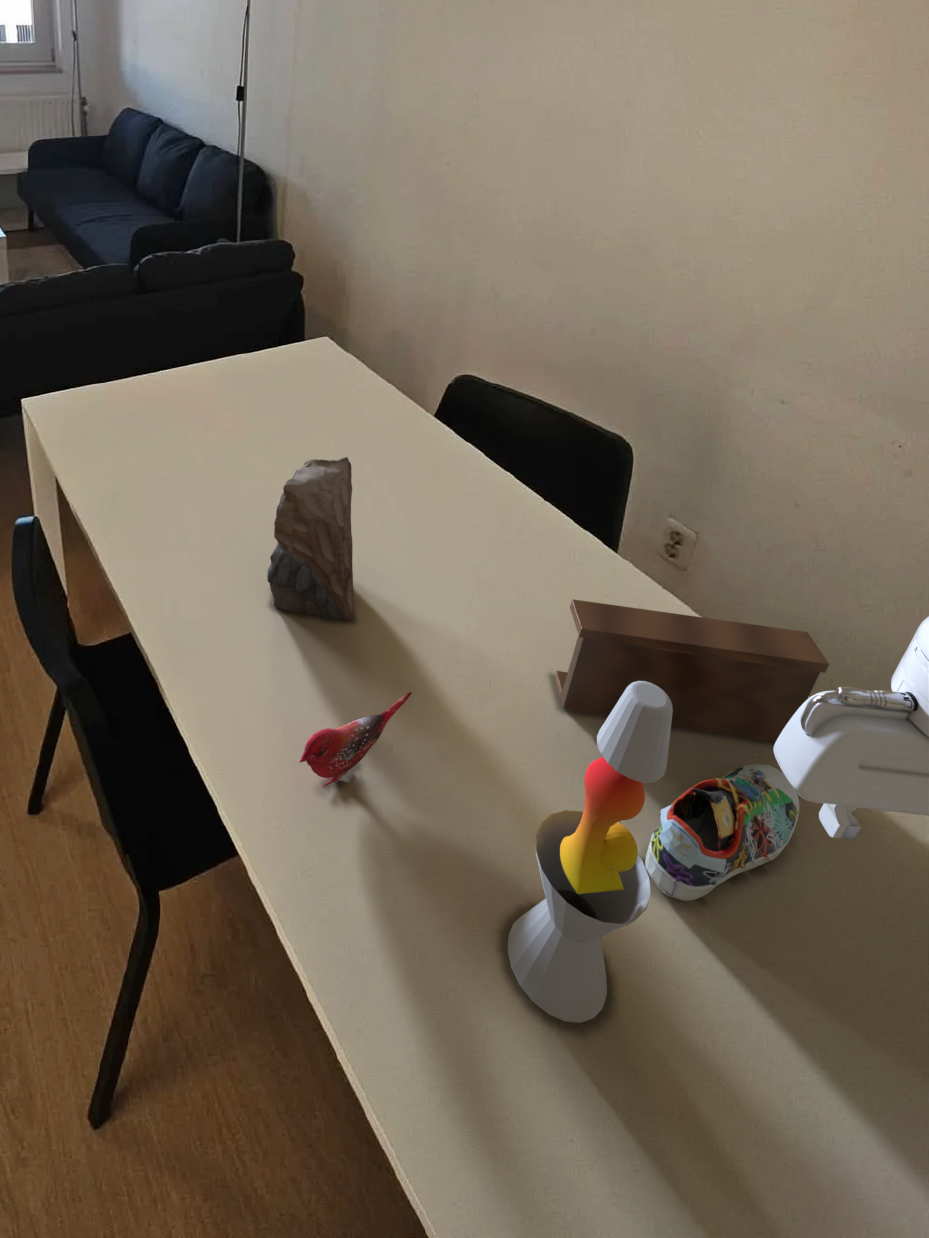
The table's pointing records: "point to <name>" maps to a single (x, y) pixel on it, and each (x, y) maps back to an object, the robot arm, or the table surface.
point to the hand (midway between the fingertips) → (902, 837)
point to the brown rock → (314, 542)
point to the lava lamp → (592, 864)
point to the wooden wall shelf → (691, 668)
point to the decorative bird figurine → (345, 744)
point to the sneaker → (722, 830)
